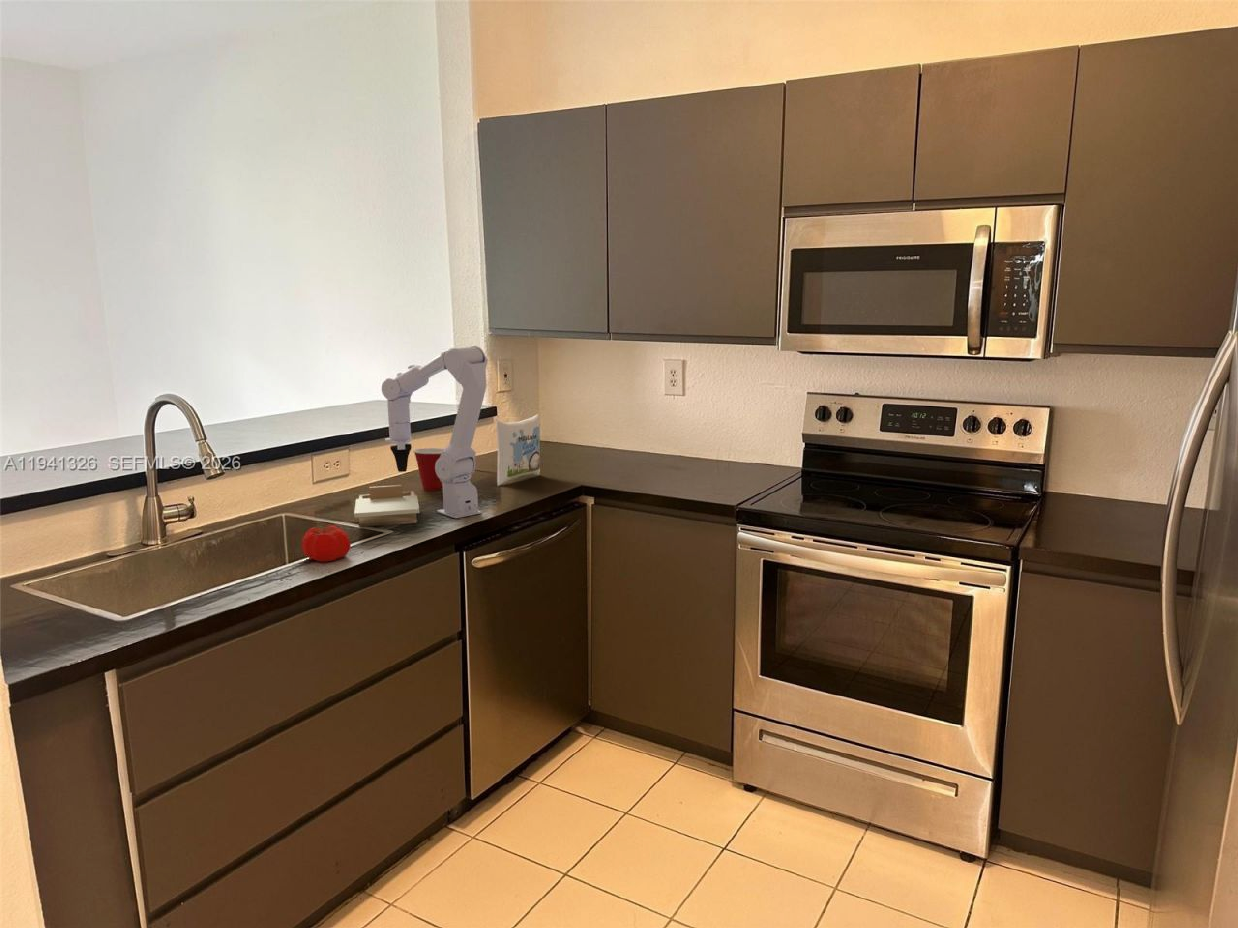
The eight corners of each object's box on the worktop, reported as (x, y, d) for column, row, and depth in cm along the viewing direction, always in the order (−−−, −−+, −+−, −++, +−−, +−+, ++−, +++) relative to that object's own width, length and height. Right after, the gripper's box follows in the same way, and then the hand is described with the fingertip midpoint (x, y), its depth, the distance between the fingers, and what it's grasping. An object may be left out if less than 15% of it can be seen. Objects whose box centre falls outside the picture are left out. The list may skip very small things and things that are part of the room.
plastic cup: (459, 486, 258) (457, 447, 256) (434, 494, 249) (432, 453, 247) (432, 483, 264) (430, 444, 262) (407, 490, 255) (405, 450, 252)
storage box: (360, 513, 228) (359, 494, 227) (414, 509, 232) (413, 491, 231) (359, 526, 215) (357, 507, 214) (416, 522, 219) (415, 503, 218)
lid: (356, 502, 217) (355, 487, 217) (416, 498, 221) (416, 483, 220) (354, 517, 203) (353, 501, 202) (419, 512, 207) (418, 496, 206)
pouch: (488, 484, 262) (485, 419, 258) (532, 474, 276) (531, 412, 272) (506, 488, 257) (504, 421, 253) (550, 477, 271) (549, 414, 267)
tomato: (339, 548, 198) (337, 520, 196) (356, 559, 189) (354, 530, 188) (296, 556, 192) (294, 527, 191) (311, 568, 183) (309, 538, 182)
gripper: (384, 419, 239) (387, 466, 241) (384, 426, 225) (387, 477, 228) (410, 417, 241) (412, 465, 243) (411, 425, 227) (414, 475, 229)
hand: (402, 471), depth 236 cm, fingers closed
